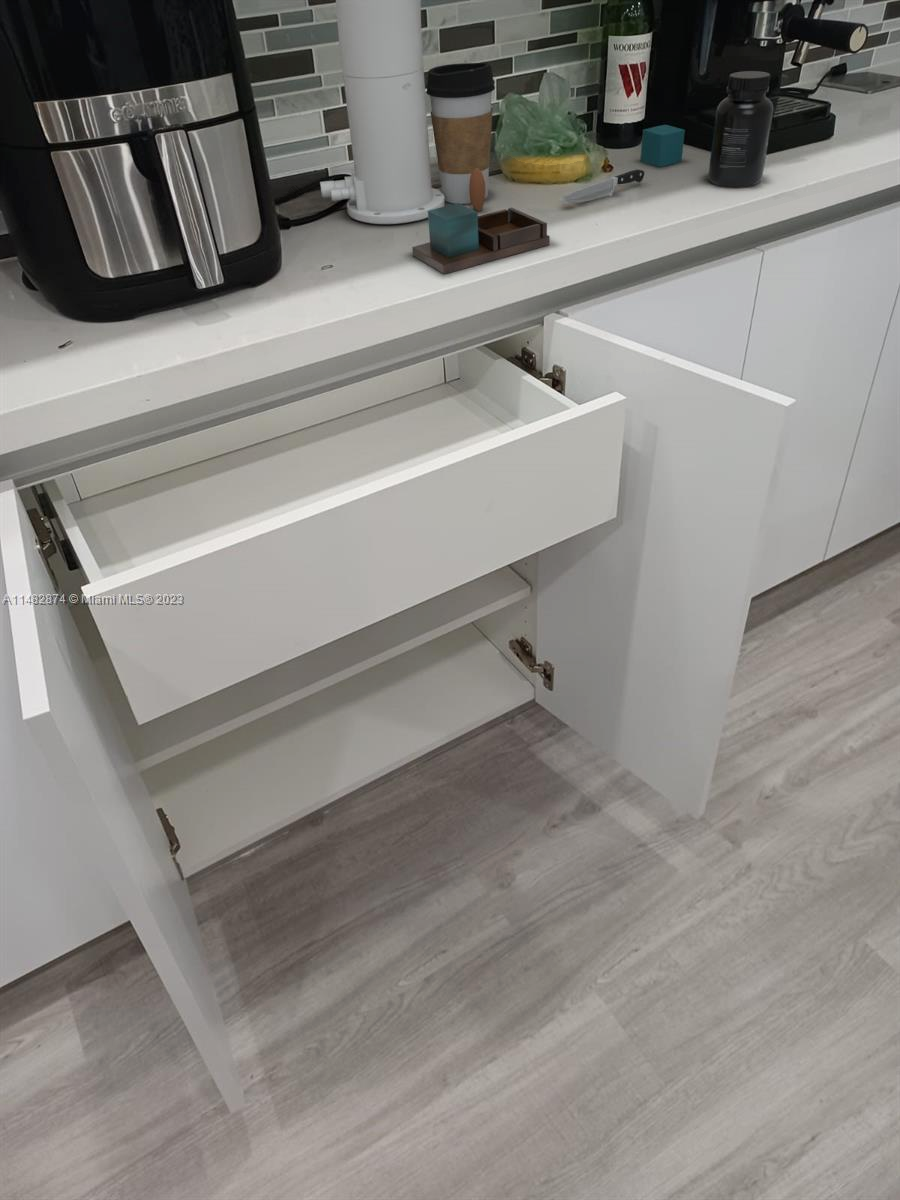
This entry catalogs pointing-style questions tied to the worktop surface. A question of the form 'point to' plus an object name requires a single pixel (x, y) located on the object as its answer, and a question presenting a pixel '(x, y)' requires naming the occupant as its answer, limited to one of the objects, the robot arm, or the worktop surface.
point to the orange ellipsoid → (477, 189)
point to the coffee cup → (461, 124)
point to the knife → (602, 187)
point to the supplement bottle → (741, 131)
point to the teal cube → (662, 145)
